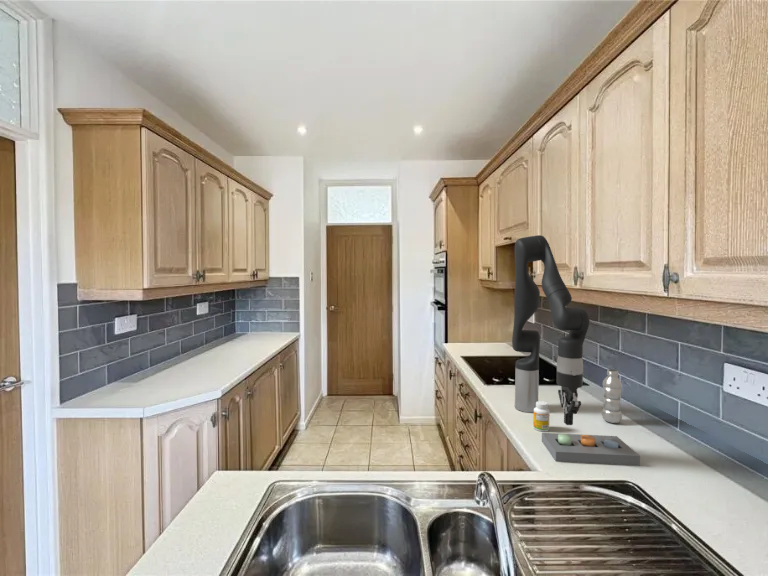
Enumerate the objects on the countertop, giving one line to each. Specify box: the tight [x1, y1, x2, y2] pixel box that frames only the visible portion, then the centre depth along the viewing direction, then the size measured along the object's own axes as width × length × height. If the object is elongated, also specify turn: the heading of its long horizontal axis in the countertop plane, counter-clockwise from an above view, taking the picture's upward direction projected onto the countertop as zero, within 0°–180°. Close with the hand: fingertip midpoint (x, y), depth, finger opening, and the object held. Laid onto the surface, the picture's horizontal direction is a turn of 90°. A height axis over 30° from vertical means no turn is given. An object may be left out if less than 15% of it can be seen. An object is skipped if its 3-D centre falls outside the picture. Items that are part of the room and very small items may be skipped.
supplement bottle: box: [532, 400, 550, 433], centre depth 141 cm, size 5×5×10 cm
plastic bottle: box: [601, 368, 623, 424], centre depth 148 cm, size 6×7×20 cm
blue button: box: [604, 440, 618, 448], centre depth 122 cm, size 4×4×2 cm
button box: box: [541, 432, 641, 467], centre depth 123 cm, size 14×24×3 cm, turn 84°
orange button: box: [581, 434, 595, 447], centre depth 123 cm, size 4×4×2 cm
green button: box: [558, 433, 572, 446], centre depth 123 cm, size 4×4×2 cm
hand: (568, 424), depth 123 cm, fingers closed
